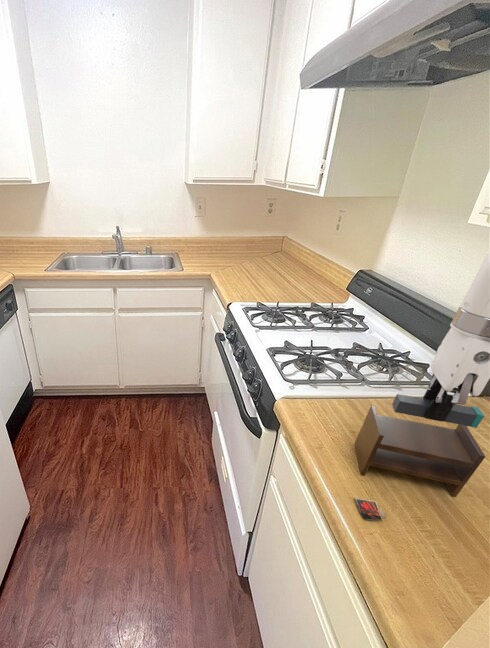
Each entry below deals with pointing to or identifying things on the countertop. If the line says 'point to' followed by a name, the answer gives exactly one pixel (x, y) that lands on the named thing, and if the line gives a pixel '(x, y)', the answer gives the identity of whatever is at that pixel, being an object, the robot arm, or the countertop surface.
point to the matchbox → (370, 509)
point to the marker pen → (420, 406)
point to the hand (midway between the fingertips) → (431, 413)
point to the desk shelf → (418, 449)
